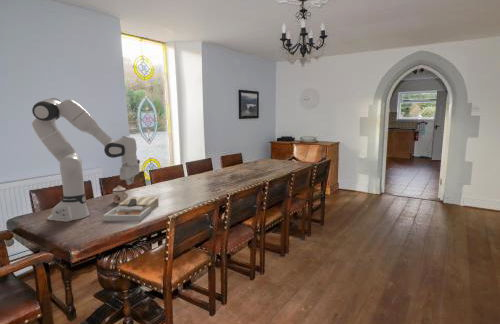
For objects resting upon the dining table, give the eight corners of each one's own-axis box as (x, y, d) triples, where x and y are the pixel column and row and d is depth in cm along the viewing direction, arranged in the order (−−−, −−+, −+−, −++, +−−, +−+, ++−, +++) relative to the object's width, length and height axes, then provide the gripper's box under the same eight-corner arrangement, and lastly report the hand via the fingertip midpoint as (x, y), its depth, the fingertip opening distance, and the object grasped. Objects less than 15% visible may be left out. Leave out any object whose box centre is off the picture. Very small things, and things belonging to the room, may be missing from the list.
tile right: (133, 210, 185) (133, 213, 186) (129, 213, 180) (129, 216, 181) (141, 210, 185) (141, 213, 185) (137, 213, 180) (137, 216, 180)
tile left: (121, 208, 187) (121, 211, 187) (117, 212, 182) (117, 215, 182) (129, 209, 187) (129, 211, 187) (125, 212, 182) (125, 215, 182)
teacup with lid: (110, 202, 211) (109, 186, 209) (120, 199, 220) (119, 183, 218) (122, 204, 207) (121, 188, 205) (132, 200, 215) (131, 185, 213)
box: (103, 220, 174) (103, 215, 174) (117, 211, 191) (117, 206, 190) (140, 221, 173) (139, 215, 173) (150, 212, 190) (150, 206, 189)
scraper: (115, 208, 181) (121, 198, 190) (116, 212, 183) (122, 202, 191) (140, 208, 181) (146, 198, 190) (141, 212, 183) (146, 202, 191)
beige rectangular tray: (119, 211, 191) (118, 204, 190) (130, 203, 208) (130, 197, 207) (149, 212, 190) (148, 204, 189) (158, 204, 207) (158, 197, 206)
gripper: (126, 165, 173) (127, 187, 175) (141, 160, 193) (141, 180, 195) (116, 164, 173) (117, 187, 175) (131, 159, 193) (132, 180, 195)
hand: (130, 183), depth 185 cm, fingers open, 3 cm apart
